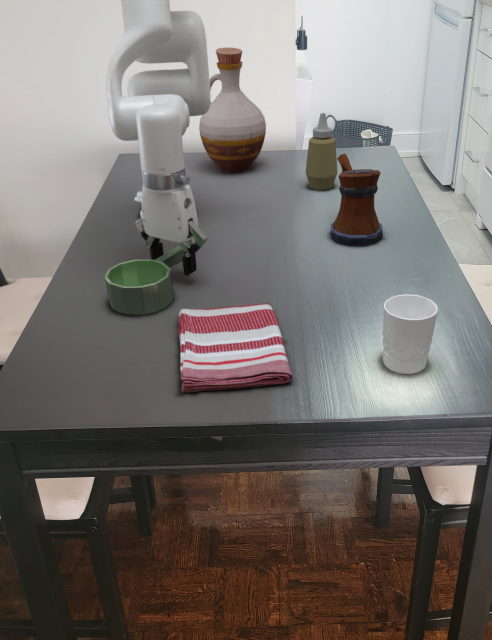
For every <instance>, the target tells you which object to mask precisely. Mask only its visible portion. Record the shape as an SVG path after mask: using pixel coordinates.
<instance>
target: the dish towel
mask: <svg viewBox="0 0 492 640" xmlns="http://www.w3.org/2000/svg"><path fill="white" fill-rule="evenodd" d="M178 337H179V339H178V340H179V346H180V347H179V348H180V353H179V355H180V360H179V361H180V368H179V369H180V380H181V393H182V394H186V393H195V392H202V391H203V392H205V391H219V390H223V391H224V390H234V389H244V388H254V387H255V388H256V387H260V386H261V387H265V386H274V385H284V384H288V383H291V381H292V380H293V379H294V376H293V372H292V370H291V367H290V364H289V360H288V357H287V352H286V350H285V344H284V339H283V337H282V333H281V329H280V326H279V321H278V318H277V315H276V313H275V312H274V310H273V306H272V305H271V303H269V302H263V303H252V304H247V305H246V304H244V305H230V306H221V307H220V306H219V307H211V308H182V309H180V311H179V312H178Z"/></svg>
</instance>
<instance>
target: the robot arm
mask: <svg viewBox="0 0 492 640" xmlns="http://www.w3.org/2000/svg"><path fill="white" fill-rule="evenodd" d="M120 1H121V10H122V20H123V28H124V36H123V37H122V39H121V41H120V43H119V44H118V45H117V47H116V48H115V50H114V52H113V54H112V55H111V57H110V60H109V63H108V66H107V68H106V75H105V92H106V99H107V109H108V110H107V111H108V119H109V123H110V124H109V125H110V127H111V128H110V129H111V131H112V133H113V134H114V136H115V137H116V138H117V139H119V140H121V141H124V142H135V141H137V146H138V152H139V161H140V169H141V177H142V187H141V191H140V190H139V191H137V192H136V196H135V197H134V199H133V201H134V202H135V203H138V204H141V209H140V212H139V215H140V218H139V219H138V220H136V222H135V223H134V226H135V227H136V229H137V230H138V232H139V233H140V236H141V237H142V239H143V240H144V241H145V245H146V247H147V248H149V253H150V259H152V260H155V259H157V258H159V257H161V256H162V255H164V254H165V252H164V244H163V243H162V242H161V240H162V241H163V240H164V241H168V242H172V243H176V244H178V245H180V246H181V248H182V250H183V252H184V254H185V255H184V256H183V257H182V260H183V261H182V268H183V269H182V271H183V275H184V276H186V277H188V276H190V275H192V274H193V273H194V272H196V271H197V256H196V253H198V251H199V250H200V249H201V248H203V246H204V244H205V243H206V241H207V240H208V236H207V235H206V234H205V233H204V232H203V231H202V230H201V229H200V228H199V219H198V214H197V213H198V212H197V209H196V202H195V198H194V194H193V192H192V188H191V186H190V185H189V183H190V182H191V181H190V177H189V176H187V175H186V166H185V155H184V146H183V144H184V143H183V136H184V135H185V133H186V131H187V129H188V128H189V127H190V121H191V117H199V116H202V115H203V114H205V113H207V111H208V110H209V107H210V101H211V90H210V81H209V79H210V71H209V70H210V68H209V57H208V45H207V34H206V29H205V24H204V21H203V19H202V18H201V16H200V14H198V13H197V12H195V11H193V10H171V3H170V0H120ZM135 62H137V63H140V64H171V63H172V64H173V63H183V64H185V65H186V67H187V68H176V69H175V68H173V69H155V70H154V69H153V70H144V71H141V72H137V73H135V74H134V75H131V77H130V78H129V80H128V82H127V86H126V87H127V88H126V90H127V91H126V92H127V96H123V91H122V90H123V89H122V83H123V79H124V76H125V72H126V71H127V69H128V68H129V67H130V66H131V65H132V64H133V63H135ZM193 237H194V238H195V240H194V238H193Z"/></svg>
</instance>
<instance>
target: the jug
mask: <svg viewBox="0 0 492 640" xmlns="http://www.w3.org/2000/svg"><path fill="white" fill-rule="evenodd" d="M215 54H216V57H217V61H218V62H216V66H217V69H218V71H219V73H215V74H213V75H211V77H209V81H210V91H211V90H212V87H213V85H214V83H215V82H216V81H220V82H221V89H220V92H219V93H218V95H216V97H215V98H214V100H213V101H211V100H210V107H209V110H208V111H207V113H205V114H203V115H200V119H199V127H198V130H199V137H200V139H201V142H202V145H203V148H204V150H205V152H206V155H208V157H209V159H210V160H211V161H212V162H213V163H214V165H216V167H217V168H218V169H219V170H220V171H222V172H223V173H230V174H231V173H232V174H234V173H242V172H246V171H248V170H249V169H250V168H251V166H252V165H253V164H254V163H255V161H256V160H257V158H258V157H259V155H260V154H261V151H262V149H263V145H264V144H265V139H266V134H267V123H266V119H265V116H264V114H263V112H262V110H261V109H260V108H259V107H258V106H257V105H256V104H255V103H254V102H253V101H252V100H251V99H250V98H248V97H247V96H246V94H245V93H244V92H243V91H242V90H241V87H240V75H241V70H242V68H243V61H242V55H243V50H242V49H240V48H237V47H218V48H216V49H215Z"/></svg>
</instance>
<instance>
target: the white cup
mask: <svg viewBox="0 0 492 640" xmlns="http://www.w3.org/2000/svg"><path fill="white" fill-rule="evenodd" d="M438 311H439V308H438V305H437V304H436V302H435V301H433V300H432V299H430V298H428V297H426V296H422V295H417V294H410V293H409V294H407V293H406V294H398V295H394V296H391V297H389V298H388V299H386V300H385V302H383V319H382V321H383V322H382V362H383V365H384V366H385V368H387V369H388V370H390V371H391V372H395V373H398V374H401V375H402V374H403V375H413V374H416V373H420V372H421V371H423V370H425V369H426V366H427V363H428V357H429V353H430V350H431V345H432V341H433V336H434V334H435V333H434V332H435V327H436V321H437V317H438Z"/></svg>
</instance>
